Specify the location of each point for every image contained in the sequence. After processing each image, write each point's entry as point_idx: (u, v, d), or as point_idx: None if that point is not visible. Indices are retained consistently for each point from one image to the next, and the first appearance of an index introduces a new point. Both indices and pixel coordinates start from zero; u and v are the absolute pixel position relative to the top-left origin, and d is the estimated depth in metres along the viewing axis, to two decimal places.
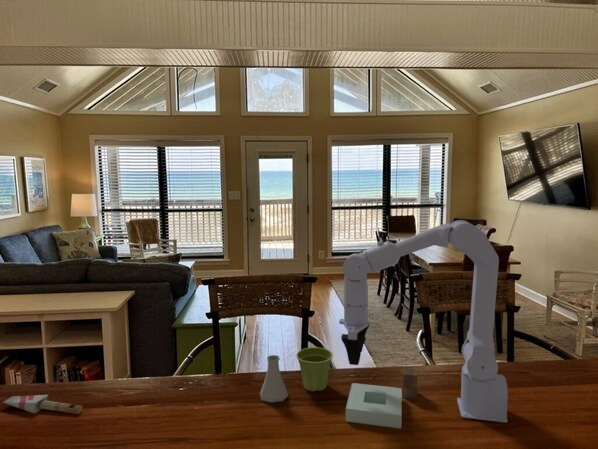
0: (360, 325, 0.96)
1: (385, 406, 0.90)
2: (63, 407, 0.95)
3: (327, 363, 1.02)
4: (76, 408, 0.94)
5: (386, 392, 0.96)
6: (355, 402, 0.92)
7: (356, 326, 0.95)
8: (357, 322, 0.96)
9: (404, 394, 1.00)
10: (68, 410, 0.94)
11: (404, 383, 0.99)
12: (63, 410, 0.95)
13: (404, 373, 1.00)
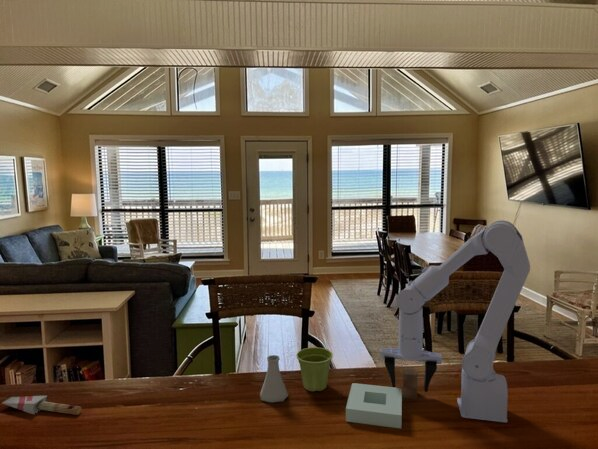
0: (399, 353, 0.99)
1: (385, 406, 0.90)
2: (61, 408, 0.94)
3: (327, 363, 1.02)
4: (75, 409, 0.94)
5: (386, 392, 0.96)
6: (355, 402, 0.92)
7: (397, 352, 1.00)
8: (398, 350, 1.00)
9: (404, 394, 1.00)
10: (67, 411, 0.94)
11: (404, 383, 0.99)
12: (62, 411, 0.94)
13: (404, 373, 1.00)
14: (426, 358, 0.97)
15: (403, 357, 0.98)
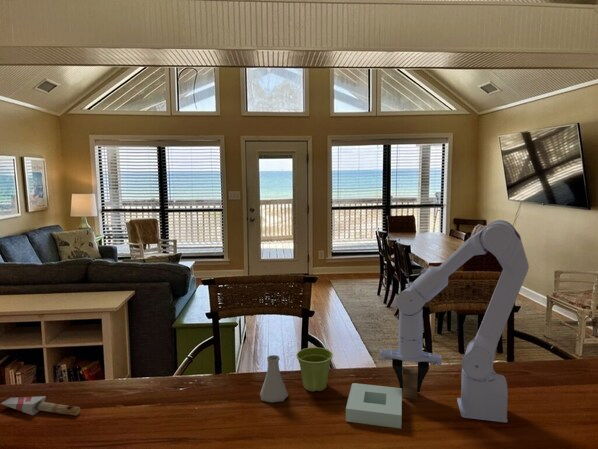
0: (399, 355, 0.99)
1: (385, 406, 0.90)
2: (60, 408, 0.94)
3: (327, 363, 1.02)
4: (74, 410, 0.94)
5: (386, 392, 0.96)
6: (355, 402, 0.92)
7: (397, 354, 1.00)
8: (398, 351, 1.00)
9: (404, 394, 1.00)
10: (66, 412, 0.94)
11: (404, 383, 0.99)
12: (61, 412, 0.94)
13: (404, 373, 1.00)
14: (426, 359, 0.97)
15: (403, 358, 0.98)
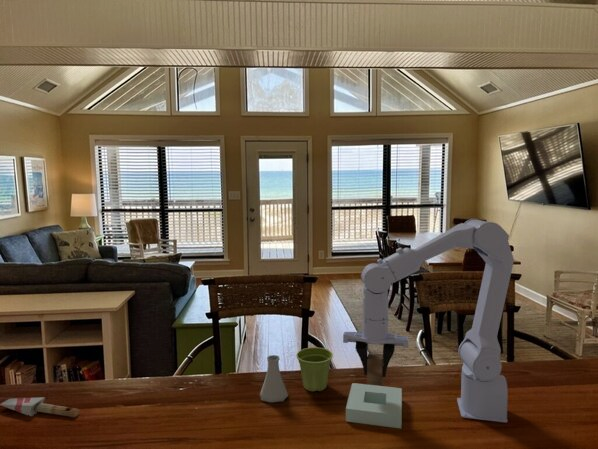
0: (363, 337, 0.92)
1: (385, 406, 0.90)
2: (59, 410, 0.94)
3: (327, 363, 1.02)
4: (72, 411, 0.93)
5: (386, 392, 0.96)
6: (355, 402, 0.92)
7: (361, 336, 0.93)
8: (362, 333, 0.93)
9: (368, 381, 0.92)
10: (64, 413, 0.93)
11: (368, 368, 0.92)
12: (59, 413, 0.93)
13: (368, 358, 0.92)
14: (391, 341, 0.90)
15: (367, 340, 0.90)
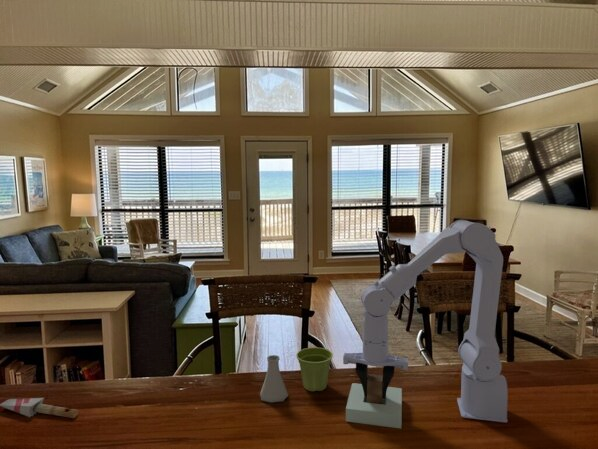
0: (362, 359, 0.92)
1: (385, 406, 0.90)
2: (58, 411, 0.93)
3: (327, 363, 1.02)
4: (71, 412, 0.93)
5: (386, 392, 0.96)
6: (355, 402, 0.92)
7: (361, 357, 0.93)
8: (362, 354, 0.93)
9: (368, 402, 0.93)
10: (63, 414, 0.93)
11: (368, 390, 0.93)
12: (58, 414, 0.93)
13: (368, 379, 0.93)
14: (391, 363, 0.90)
15: (367, 362, 0.91)
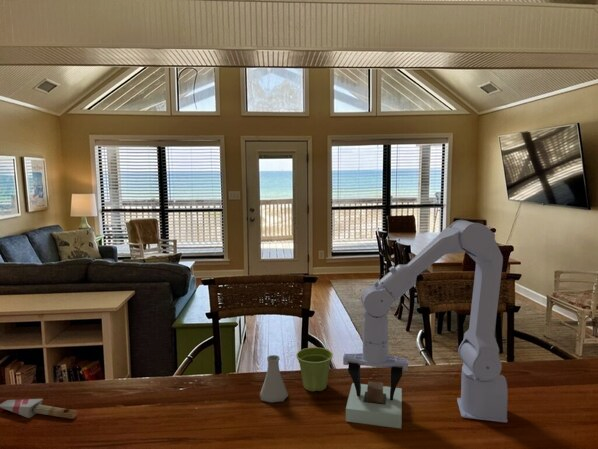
0: (363, 359, 0.92)
1: (385, 406, 0.90)
2: (57, 412, 0.93)
3: (327, 363, 1.02)
4: (70, 413, 0.92)
5: (386, 392, 0.96)
6: (355, 402, 0.92)
7: (361, 358, 0.93)
8: (362, 355, 0.93)
9: None
10: (62, 415, 0.92)
11: (368, 397, 0.93)
12: (57, 415, 0.93)
13: (368, 387, 0.93)
14: (391, 364, 0.90)
15: (367, 363, 0.91)
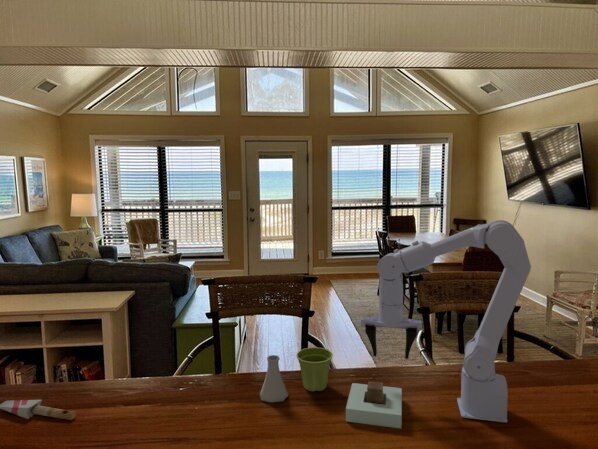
0: (379, 321, 0.99)
1: (385, 406, 0.90)
2: (56, 413, 0.92)
3: (327, 363, 1.02)
4: (69, 414, 0.92)
5: (386, 392, 0.96)
6: (355, 402, 0.92)
7: (378, 320, 1.00)
8: (379, 317, 1.00)
9: None
10: (61, 416, 0.92)
11: (368, 397, 0.93)
12: (56, 416, 0.92)
13: (368, 387, 0.93)
14: (406, 324, 0.97)
15: (383, 324, 0.98)
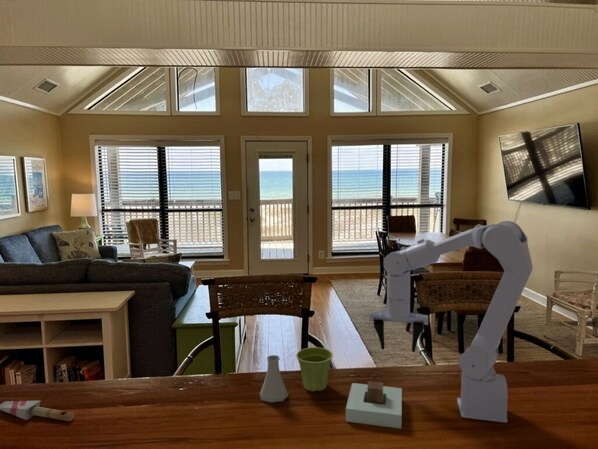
0: (387, 315, 1.03)
1: (385, 406, 0.90)
2: (54, 414, 0.92)
3: (327, 363, 1.02)
4: (67, 415, 0.91)
5: (386, 392, 0.96)
6: (355, 402, 0.92)
7: (385, 315, 1.04)
8: (387, 312, 1.04)
9: None
10: (59, 417, 0.92)
11: (368, 397, 0.93)
12: (54, 417, 0.92)
13: (368, 387, 0.93)
14: (413, 319, 1.01)
15: (391, 318, 1.02)
